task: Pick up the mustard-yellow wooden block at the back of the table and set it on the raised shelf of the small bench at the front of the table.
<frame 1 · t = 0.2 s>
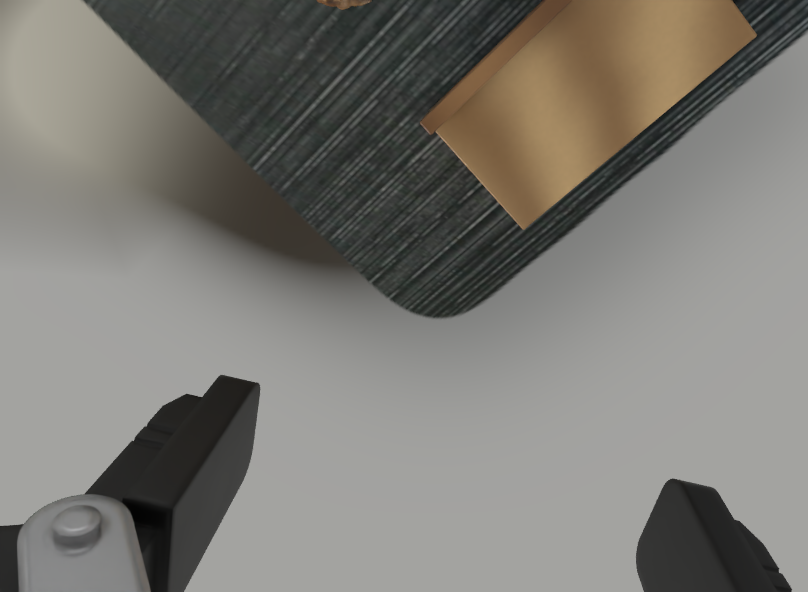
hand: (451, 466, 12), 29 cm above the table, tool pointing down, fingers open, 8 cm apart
bench: (561, 76, 36), on the table
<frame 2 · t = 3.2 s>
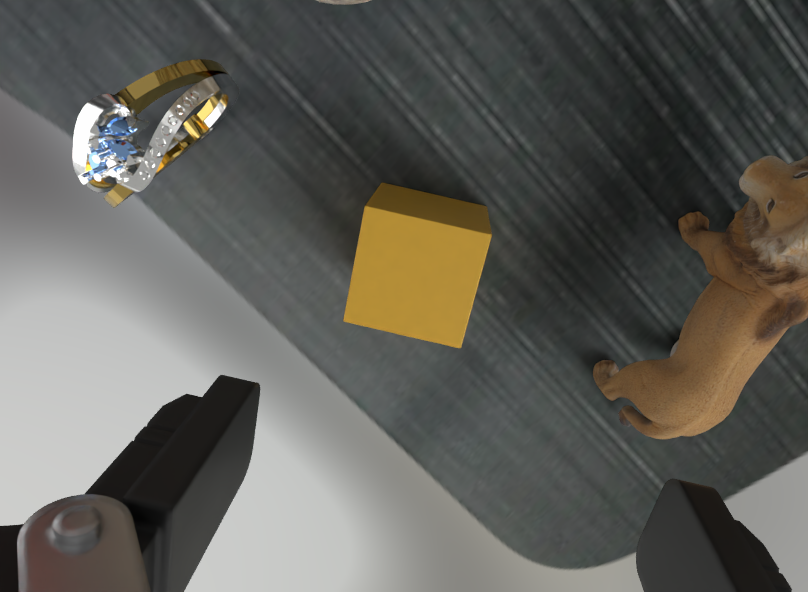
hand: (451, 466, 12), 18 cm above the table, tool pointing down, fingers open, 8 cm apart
lion figurine: (677, 277, 28), on the table
block: (422, 245, 28), on the table
ring: (205, 125, 27), on the table
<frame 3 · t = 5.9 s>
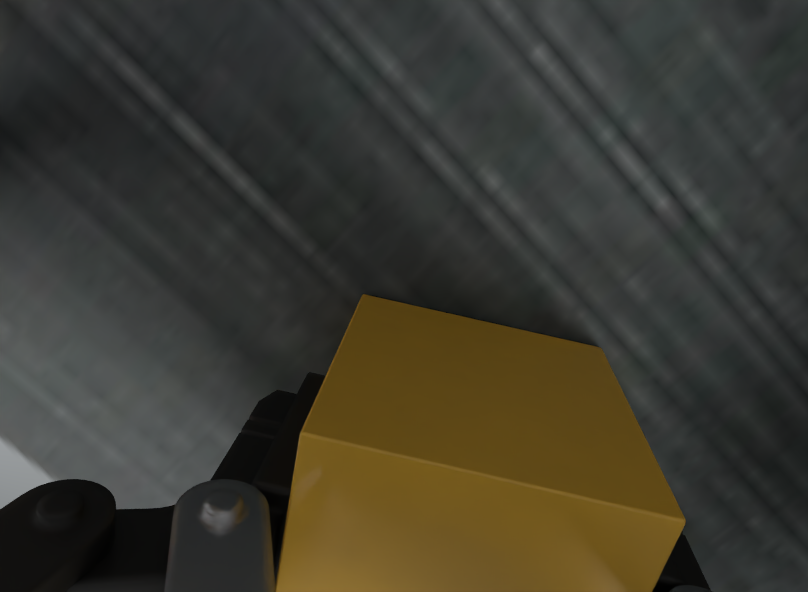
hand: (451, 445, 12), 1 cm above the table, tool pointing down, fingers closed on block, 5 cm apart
block: (453, 421, 13), on the table, touching gripper
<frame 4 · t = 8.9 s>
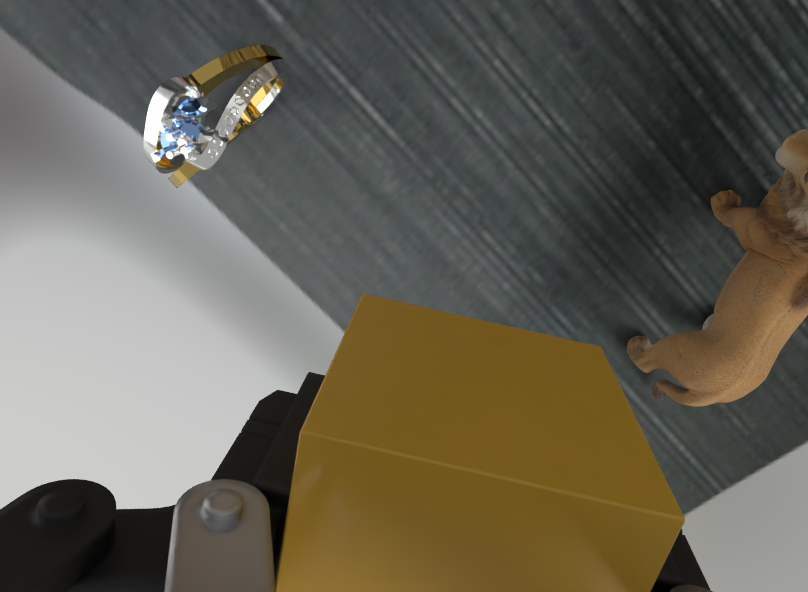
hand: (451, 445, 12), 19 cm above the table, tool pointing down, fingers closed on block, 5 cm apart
lion figurine: (708, 254, 29), on the table
block: (453, 420, 13), point 18 cm above the table, touching gripper
ring: (256, 111, 29), on the table
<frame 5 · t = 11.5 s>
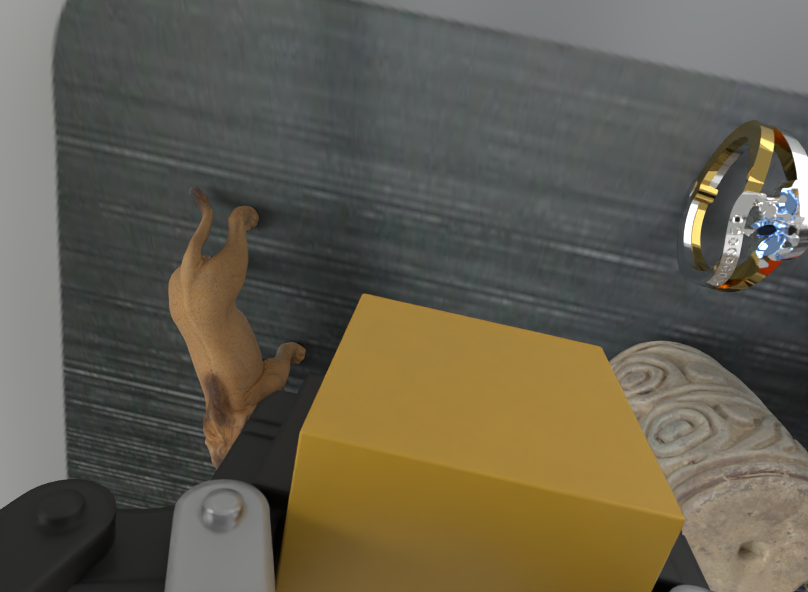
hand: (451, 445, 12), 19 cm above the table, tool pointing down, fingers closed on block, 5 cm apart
carving: (654, 379, 32), on the table
lion figurine: (269, 313, 33), on the table
block: (453, 420, 13), point 18 cm above the table, touching gripper
ring: (696, 189, 29), on the table
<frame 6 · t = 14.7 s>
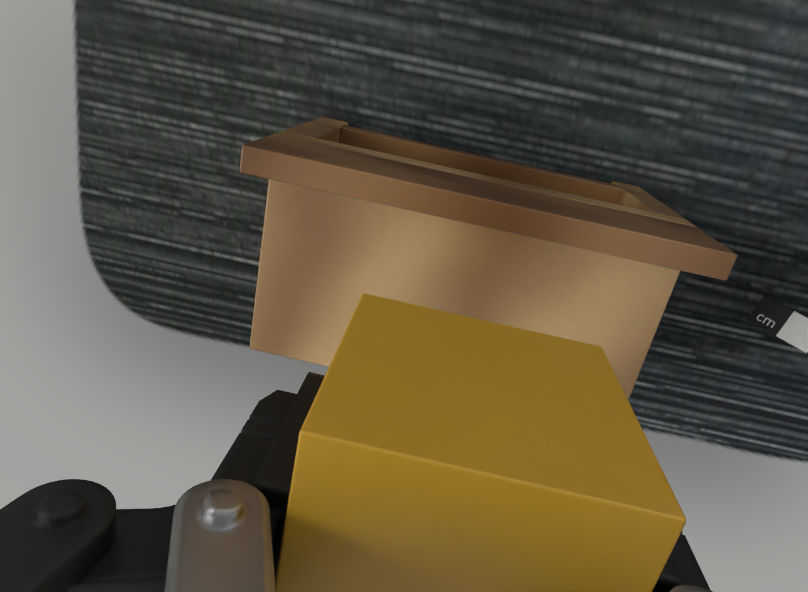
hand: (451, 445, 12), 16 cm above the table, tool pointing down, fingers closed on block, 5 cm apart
bench: (458, 238, 27), on the table
block: (453, 420, 13), point 15 cm above the table, touching gripper
when the fingers open (8 cm above the table, at t = 17.4 s): block stays where it is, resting on bench.
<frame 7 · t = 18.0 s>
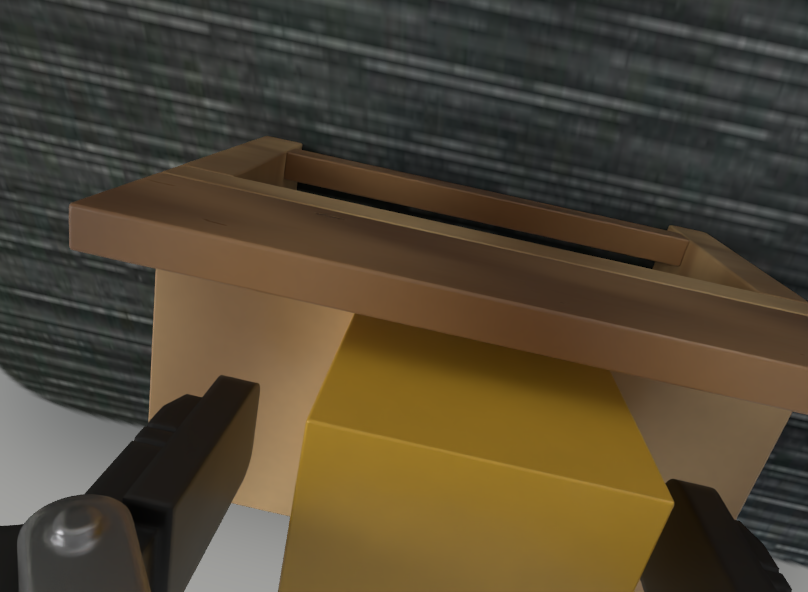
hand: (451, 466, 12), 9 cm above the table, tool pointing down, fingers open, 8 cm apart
bench: (455, 300, 20), on the table
block: (453, 414, 13), point 7 cm above the table, touching bench
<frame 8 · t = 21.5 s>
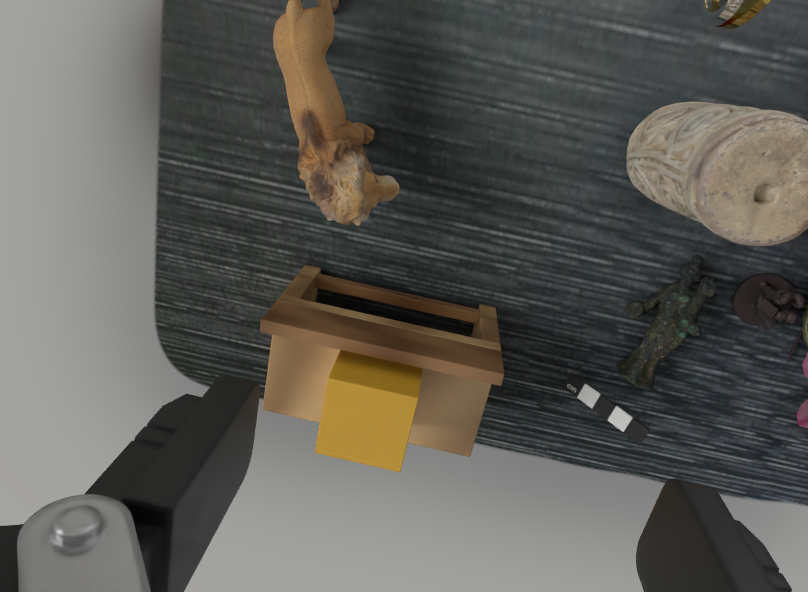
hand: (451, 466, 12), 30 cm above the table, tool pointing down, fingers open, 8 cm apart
bench: (389, 335, 44), on the table
figurine 2: (773, 299, 40), on the table, touching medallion
figurine: (630, 324, 42), on the table
carving: (676, 150, 37), on the table
lion figurine: (343, 98, 38), on the table
block: (377, 382, 37), point 7 cm above the table, touching bench
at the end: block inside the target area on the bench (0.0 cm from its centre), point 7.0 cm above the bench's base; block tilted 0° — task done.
